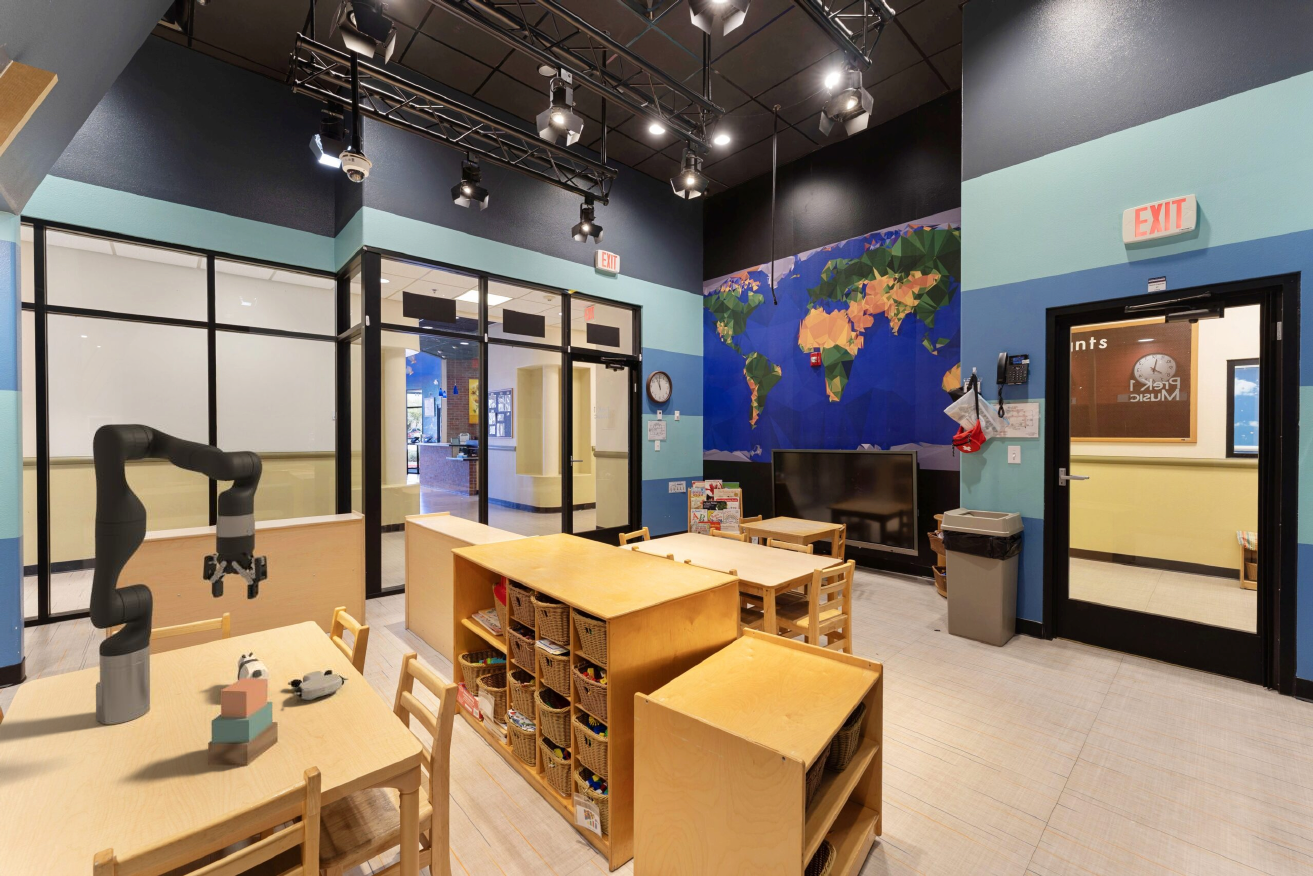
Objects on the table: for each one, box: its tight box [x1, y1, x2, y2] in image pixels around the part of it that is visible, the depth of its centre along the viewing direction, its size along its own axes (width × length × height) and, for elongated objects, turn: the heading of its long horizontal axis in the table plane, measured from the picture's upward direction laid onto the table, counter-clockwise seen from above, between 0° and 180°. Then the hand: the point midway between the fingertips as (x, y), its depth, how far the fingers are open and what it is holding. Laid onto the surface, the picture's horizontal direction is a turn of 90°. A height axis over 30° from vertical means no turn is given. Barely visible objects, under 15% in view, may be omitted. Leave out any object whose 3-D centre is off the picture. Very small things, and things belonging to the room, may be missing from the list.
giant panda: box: [237, 652, 270, 688], centre depth 153 cm, size 15×6×10 cm, turn 50°
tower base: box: [207, 721, 279, 767], centre depth 124 cm, size 9×9×5 cm
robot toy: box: [287, 669, 349, 701], centre depth 153 cm, size 12×4×15 cm
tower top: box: [211, 701, 273, 743], centre depth 124 cm, size 8×8×5 cm
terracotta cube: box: [220, 678, 268, 718], centre depth 124 cm, size 6×6×6 cm
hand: (235, 597), depth 133 cm, fingers open, 8 cm apart
